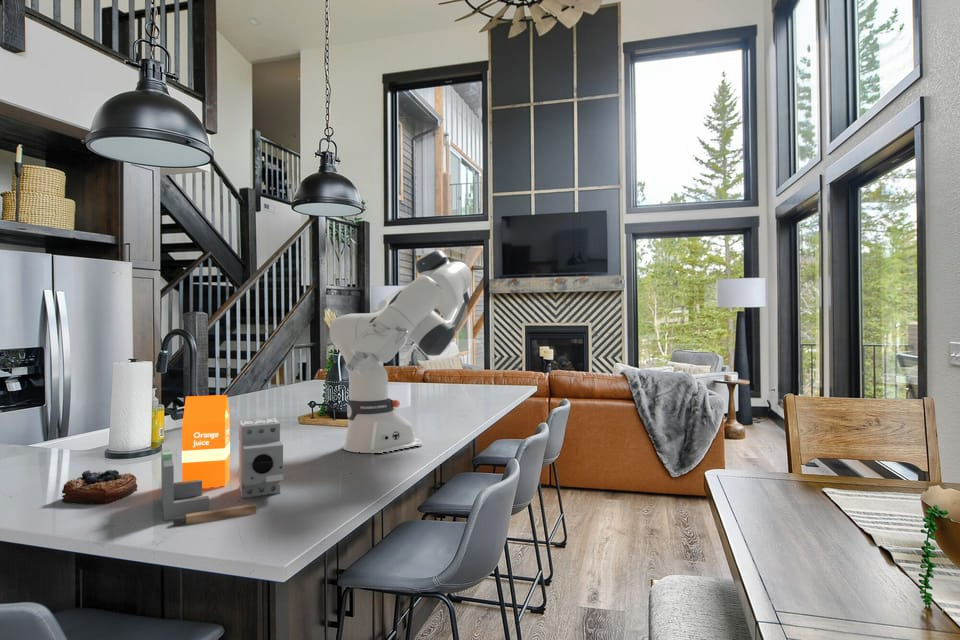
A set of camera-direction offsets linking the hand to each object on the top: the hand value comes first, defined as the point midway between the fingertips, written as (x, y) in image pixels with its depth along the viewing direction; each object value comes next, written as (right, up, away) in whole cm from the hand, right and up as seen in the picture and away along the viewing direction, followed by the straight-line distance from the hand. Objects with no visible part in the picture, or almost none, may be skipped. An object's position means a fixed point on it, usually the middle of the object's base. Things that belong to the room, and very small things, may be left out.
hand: (353, 370), depth 132 cm
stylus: (-19, -26, -25) cm, 40 cm away
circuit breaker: (-17, -26, -10) cm, 33 cm away
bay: (-29, -25, -18) cm, 43 cm away
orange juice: (-33, -26, -2) cm, 42 cm away
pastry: (-51, -26, -11) cm, 58 cm away
